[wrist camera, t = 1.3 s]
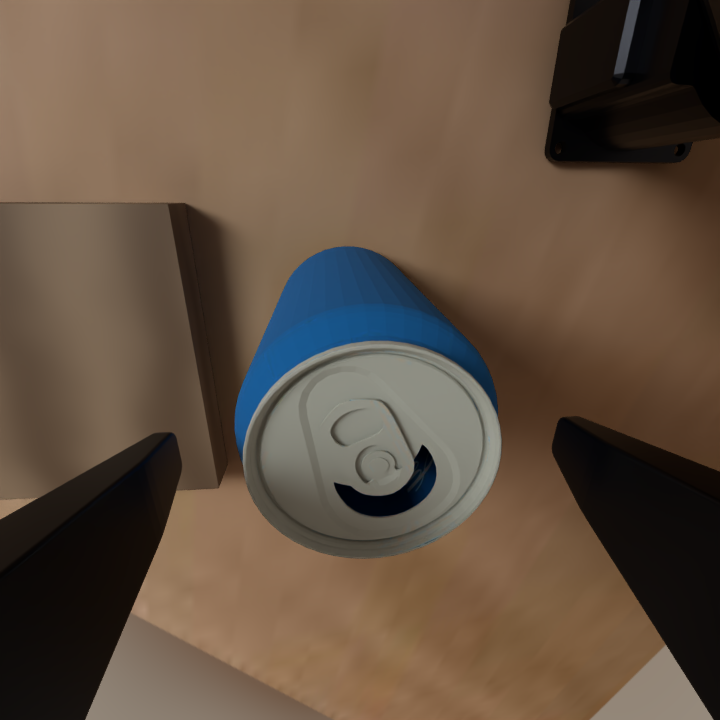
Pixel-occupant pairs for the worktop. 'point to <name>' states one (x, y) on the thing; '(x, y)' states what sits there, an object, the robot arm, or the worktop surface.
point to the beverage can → (365, 412)
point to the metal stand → (101, 343)
